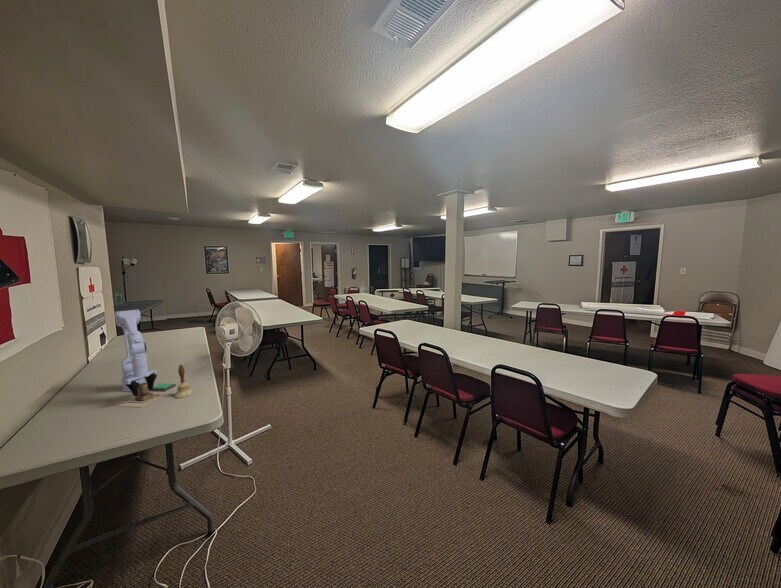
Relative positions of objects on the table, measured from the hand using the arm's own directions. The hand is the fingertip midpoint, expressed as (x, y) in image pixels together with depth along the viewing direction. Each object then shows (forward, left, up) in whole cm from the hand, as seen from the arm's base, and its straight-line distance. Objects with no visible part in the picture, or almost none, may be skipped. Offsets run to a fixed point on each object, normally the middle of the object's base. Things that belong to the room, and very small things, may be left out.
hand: (143, 392), depth 149 cm
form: (0, 0, -4) cm, 4 cm away
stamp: (0, 0, -3) cm, 3 cm away
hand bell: (+17, +6, -4) cm, 18 cm away
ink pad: (-3, +13, -4) cm, 14 cm away
